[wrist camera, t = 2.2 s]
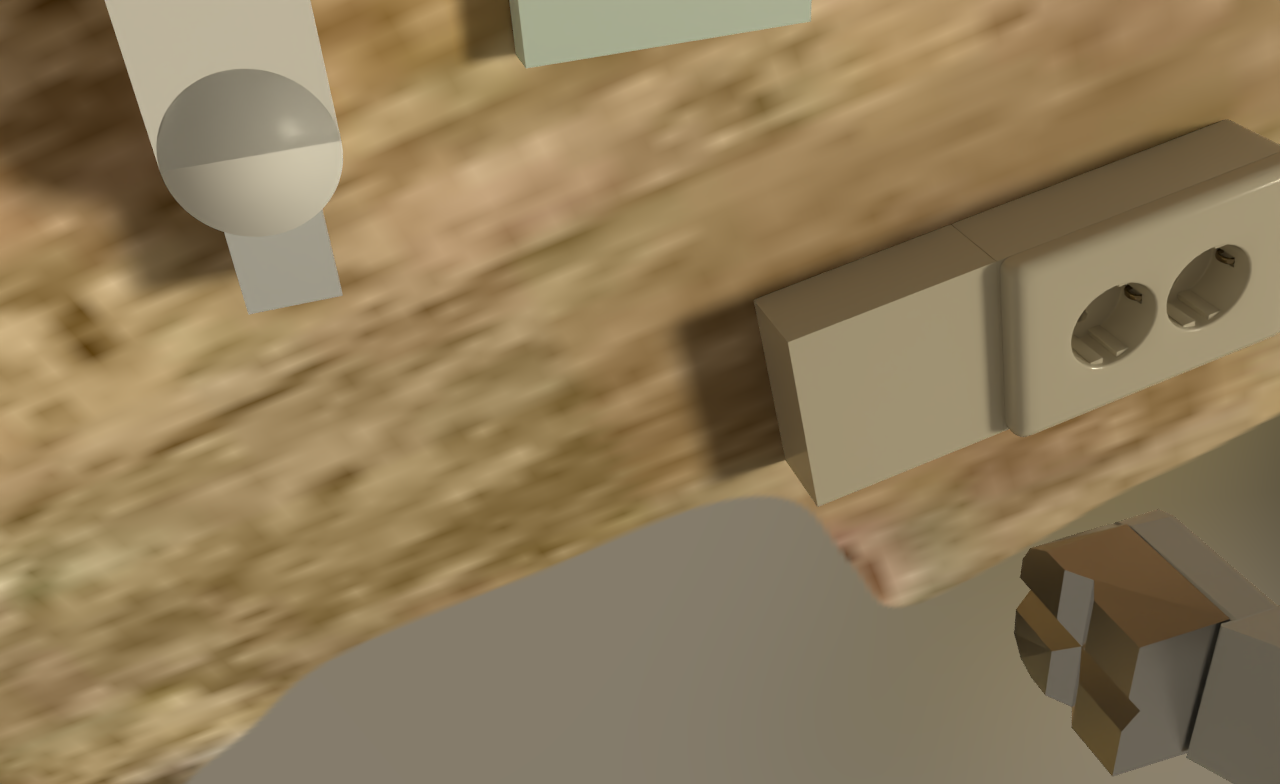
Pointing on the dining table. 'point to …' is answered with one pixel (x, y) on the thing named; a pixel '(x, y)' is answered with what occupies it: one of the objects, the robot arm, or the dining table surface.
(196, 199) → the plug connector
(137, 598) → the dining table surface
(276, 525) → the dining table surface
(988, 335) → the electrical outlet
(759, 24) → the sage board
